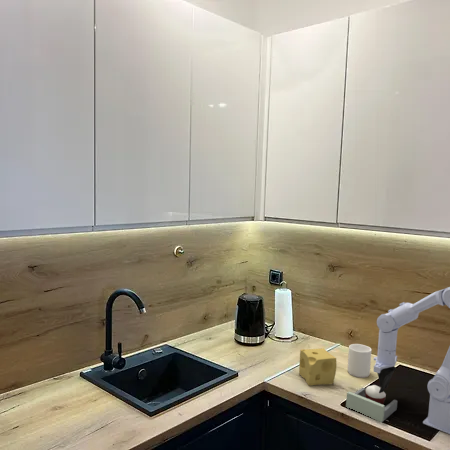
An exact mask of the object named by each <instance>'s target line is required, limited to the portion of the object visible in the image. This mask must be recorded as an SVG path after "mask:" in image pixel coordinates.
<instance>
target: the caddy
mask: <svg viewBox="0 0 450 450" xmlns="http://www.w3.org/2000/svg"><path fill="white" fill-rule="evenodd" d="M365 390H366V388H365V387H362V388H360V389H358V390H357V391H356V392H352V391H347V392H346V401H345V407H347V409H349V408H350V409H349V410H351V409H353V410H355V411H354V412H356V411H357V412H356V413H358V412H360V413H362V414H361V415H363V414H364V415H363V416H365V415H366V416H365V417H367V416H369V417H368V418H370V417H371V418H370V419H372V420H374V419H375V421H377V422H380V423H383V422H384V421H385V420H386V419H388V418H389V417H390V416H391V415H392V414H393V413H394V412H396V411H397V408H398V400H397V399H393V400H392V401H391V402H390V403H388V404H386V405H384V404H383V405H382V404H380V403H377V402H375V401H372V400H370V399H367V398H366V394H365ZM353 410H352V411H353ZM360 413H359V414H360Z"/></svg>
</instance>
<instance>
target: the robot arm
mask: <svg viewBox="0 0 450 450" xmlns="http://www.w3.org/2000/svg"><path fill="white" fill-rule="evenodd" d="M398 305H399V306H398V307H395V308H390V309H389V310H388V311H387V313H386V312H385V313H382V314H380V315H379V316H377V319H376V326H377V328H378V329H379V330H378V340H377V341H378V344H377V356H374V357H373V361H375V364H374V365H373V370H372V371H373V373H377V377H378V381H379V382H378V383H379V387H380V388H381V386H382V384H383V382H384V380H385V377H386V376H387V375H390V378H389V380H388V382H387V384H386V386H385V389H387V388H389V385H390V383H391V380H392V379H391V378H392V376H393V374H394V373H395V371H397V368H396V363H397V362H398V355H397V342H398V341H397V340H398V332H399V329H400V328H401V327H402V326H403V327H404V325H407V324H409V323H411V322H413V321H415V320H417V319H418V318H419V315H420V313H421V312H424V311H425V310H426V311H427V310H428V309H430V308H433V307H435V306H437V305H439V306H442V307H443V306H447V308H449V309H450V286H449V287H448V286H447V287H446V288H443V289H440V290H436V291H435V292H432V293H431V294H429V295H426V296H425V297H424V298H421V299H420V300H417V302H416V301H415V302H414V303H411V302H405V301H403V302H401V303H399V304H398ZM427 392H428V394H429V404H428V414H427V417H426V418H425V419H424V420H423V421H422V424H423V425H426V426H428V427H430V428H434V429H436V430H439V431H441V432H444V433H445V434H448V435H450V345H449V347H448V349H447V352H446V354H445V357H444V359H443V362H442V364H441V365H440V367H439V369H438V370H437V371H436V372H435V374H434V376H433V378H431V379H429V381H428V382H427Z"/></svg>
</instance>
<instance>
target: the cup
mask: <svg viewBox="0 0 450 450" xmlns="http://www.w3.org/2000/svg"><path fill="white" fill-rule="evenodd" d="M371 363H372V348H371V347H370V346H367V345H365V344H362V343H361V344H360V343H352V344H350V345H348V359H347V373H348V374H349V375H351V376H352V377H355V378H360V379H361V378H368V377H369V376H370V374H371Z"/></svg>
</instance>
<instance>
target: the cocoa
mask: <svg viewBox="0 0 450 450" xmlns="http://www.w3.org/2000/svg"><path fill="white" fill-rule="evenodd" d="M389 378H390V375H387V376H386V377H385V380H384V382H383V384H382V386H381V387H380V386H378V385H376V384H372V385H368V386H367V387H366V388H365V398H367V399H370V400H372V401H375V402H377V403H380V404H382V405H384V404H385V400H386V395H387V393H386V392H385V389H386V388H385V386H386V384H387V382H388V380H389Z"/></svg>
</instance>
